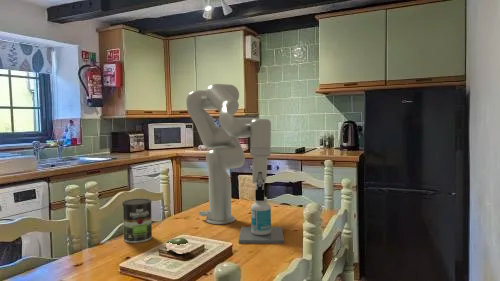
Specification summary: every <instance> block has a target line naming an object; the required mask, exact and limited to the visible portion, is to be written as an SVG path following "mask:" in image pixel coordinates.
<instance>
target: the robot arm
mask: <svg viewBox="0 0 500 281" xmlns="http://www.w3.org/2000/svg"><path fill="white" fill-rule="evenodd" d="M239 97H240V92H239V89H238V88H237V86H235V85H233V84H228V83H227V84H226V83H213V84H211V85H209V86H208V87H207V89H206V90H205V89H202V90H201V89H200V90H198V89H197V90H193V91H191V92H189V93H188V94H187V97H186V101H185V102H186V109H187V112H188V114H189V117H190V118H191V120H192V122H193V123H194V124H195V127H196V130H197V132H198V135H199V137H200V140H201V142H202V143H201V144H202V145H203V147H204V148H206V149H208V152H207V154H206V155H205V163H206V168H207V174H208V204H209V206H208V208H209V209H208V210H206V211H205V210H199V216H201V217H205V221H206V223H209V224H212V225H225V224H227V225H228V224H230V223H234V222H235V221H236V216H234V215H232V182H231V181H232V180H231V177H230V175H229V173H228V172H227V170H231V169H232V170H233V169H238V168H242V167H243V166H244V165H245V162H246V157H245V156H246V155H245V151H244V149H243V147H242V145H241V142H240V140H239V138H240V139H241V138H250V139H249V140H250V143H249V144H250V152H249V153H250V157H252V184H255V192H254V193H255V196H254V201H255V200H256V201H264V197H265V184H266V182H267V175H268V158H269V157H271V152H272V150H271V149H272V148H271V146H272V145H271V144H272V140H271V139H272V122H271V120H270V119H268V118H258V117H235V116H234V115H235V114H236V113H237V112H238V111H239V106H240V104H239V99H240V98H239ZM206 110H217V111H218V112H219V116H218V117H219V118H218V120H219V124H220V126H218V125H217V124H216V122H215V120H214V117H213V116H212V115H211V114H210V113H209V112H207V111H206Z"/></svg>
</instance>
